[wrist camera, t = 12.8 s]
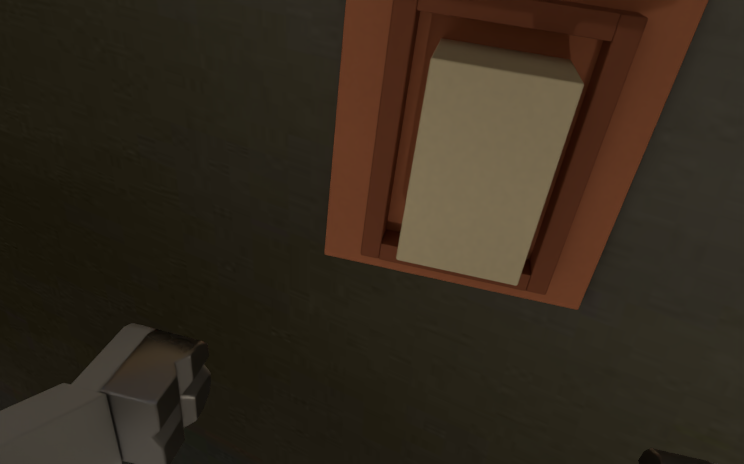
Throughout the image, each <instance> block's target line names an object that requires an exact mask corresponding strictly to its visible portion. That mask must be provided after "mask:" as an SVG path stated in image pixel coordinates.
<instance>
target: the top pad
mask: <svg viewBox="0 0 744 464" xmlns="http://www.w3.org/2000/svg"><path fill="white" fill-rule="evenodd" d="M583 87H584V83H583V81H582V80H581V78H580V76H579V74H578V72H577V70H576V69H575V67H574V65H573V63H572V61H571V60H570V59H564V58H558V57H552V56H546V55H540V54H534V53H528V52H522V51H516V50H510V49H504V48H497V47H491V46H485V45H479V44H473V43H467V42H461V41H455V40H449V39H443V38H442V39H441V40H440V42H439V44H438V45H437V47H436V49H435V51H434V53H433V55H432V57H431V59H430V64H429V70H428V76H427V82H426V87H425V93H424V99H423V105H422V110H421V116H420V122H419V128H418V134H417V139H416V145H415V151H414V157H413V162H412V168H411V174H410V180H409V185H408V191H407V197H406V203H405V208H404V214H403V220H402V226H401V232H400V237H399V243H398V249H397V255H396V259H397V260H400V261H405V262H409V263H414V264H418V265H423V266H428V267H432V268H437V269H441V270H446V271H451V272H455V273H460V274H464V275H469V276H474V277H478V278H483V279H487V280H492V281H497V282H501V283H506V284H510V285H515V286H517V285H518V282H519V279H520V276H521V273H522V270H523V267H524V264H525V261H526V258H527V255H528V252H529V249H530V246H531V243H532V240H533V237H534V234H535V231H536V228H537V225H538V222H539V219H540V216H541V213H542V210H543V207H544V204H545V201H546V198H547V195H548V192H549V189H550V186H551V183H552V180H553V177H554V174H555V171H556V168H557V165H558V162H559V159H560V156H561V153H562V150H563V147H564V144H565V141H566V138H567V135H568V132H569V129H570V126H571V123H572V120H573V117H574V114H575V111H576V108H577V105H578V102H579V99H580V96H581V93H582V90H583Z"/></svg>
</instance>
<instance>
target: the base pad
mask: <svg viewBox="0 0 744 464" xmlns="http://www.w3.org/2000/svg"><path fill="white" fill-rule="evenodd" d="M707 3H708V0H346V7H345V19H344V30H343V42H342V54H341V66H340V77H339V89H338V101H337V112H336V124H335V136H334V148H333V159H332V171H331V183H330V195H329V206H328V218H327V230H326V241H325V255H330V256H334V257H339V258H343V259H348V260H352V261H357V262H362V263H366V264H371V265H375V266H380V267H384V268H389V269H393V270H398V271H403V272H407V273H412V274H416V275H421V276H425V277H430V278H434V279H439V280H444V281H448V282H453V283H457V284H462V285H466V286H471V287H475V288H480V289H485V290H489V291H494V292H498V293H503V294H507V295H512V296H516V297H521V298H526V299H530V300H535V301H539V302H544V303H548V304H553V305H557V306H562V307H567V308H571V309H576V310H578V309H579V306H580V304H581V301H582V299H583V297H584V294H585V292H586V290H587V287H588V285H589V283H590V280H591V278H592V275H593V273H594V271H595V268H596V266H597V264H598V261H599V259H600V256H601V254H602V252H603V249H604V247H605V245H606V242H607V240H608V237H609V235H610V233H611V230H612V228H613V226H614V223H615V221H616V218H617V216H618V214H619V211H620V209H621V207H622V204H623V202H624V200H625V197H626V195H627V192H628V190H629V188H630V185H631V183H632V181H633V178H634V176H635V173H636V171H637V169H638V166H639V164H640V162H641V159H642V157H643V154H644V152H645V150H646V147H647V145H648V143H649V140H650V138H651V135H652V133H653V131H654V128H655V126H656V124H657V121H658V119H659V117H660V114H661V112H662V109H663V107H664V105H665V102H666V100H667V98H668V95H669V93H670V90H671V88H672V86H673V83H674V81H675V79H676V76H677V74H678V71H679V69H680V67H681V64H682V62H683V60H684V57H685V55H686V52H687V50H688V48H689V45H690V43H691V41H692V38H693V36H694V34H695V31H696V29H697V26H698V24H699V22H700V19H701V17H702V15H703V12H704V10H705V7H706V5H707ZM442 38H443V39H449V40H455V41H461V42H467V43H473V44H479V45H485V46H491V47H497V48H504V49H510V50H516V51H522V52H528V53H534V54H540V55H546V56H552V57H558V58H564V59H570V60H571V61H572V63H573V65H574V67H575V69H576V70H577V72H578V74H579V76H580V78H581V80H582V81H583V83H584V87H583V90H582V93H581V96H580V99H579V102H578V105H577V108H576V111H575V114H574V117H573V120H572V123H571V126H570V129H569V132H568V135H567V138H566V141H565V144H564V147H563V150H562V153H561V156H560V159H559V162H558V165H557V168H556V171H555V174H554V177H553V180H552V183H551V186H550V189H549V192H548V195H547V198H546V201H545V204H544V207H543V210H542V213H541V216H540V219H539V222H538V225H537V228H536V231H535V234H534V237H533V240H532V243H531V246H530V249H529V252H528V255H527V258H526V261H525V264H524V267H523V270H522V273H521V276H520V279H519V282H518V285H517V286H515V285H510V284H506V283H501V282H497V281H492V280H487V279H483V278H478V277H474V276H469V275H464V274H460V273H455V272H451V271H446V270H441V269H437V268H432V267H428V266H423V265H418V264H414V263H409V262H405V261H400V260H397V259H396V255H397V249H398V243H399V237H400V232H401V226H402V220H403V214H404V208H405V203H406V197H407V191H408V185H409V180H410V174H411V168H412V162H413V157H414V151H415V145H416V139H417V134H418V128H419V122H420V116H421V110H422V105H423V99H424V93H425V87H426V82H427V76H428V70H429V64H430V59H431V57H432V55H433V53H434V51H435V49H436V47H437V45H438V44H439V42H440V40H441V39H442Z"/></svg>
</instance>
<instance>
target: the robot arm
mask: <svg viewBox="0 0 744 464" xmlns="http://www.w3.org/2000/svg"><path fill="white" fill-rule="evenodd" d="M208 357H209V351H208V343H205V342H203V341H199V340H196V339H192V338H188V337H185V336H181V335H177V334H173V333H170V332H166V331H162V330H158V329H154V328H150V327H146V326H142V325H138V324H134V323H131V324H129V325H127V326H125V327H124V328H123V329H122V330H121V331H120V332H119V333H118V334H117V335H116V336H115V337H114V338H113V339H112V341H111V342H110V343H109V344H108V345H107V346H106V347H105V348H104V349H103V350H102V351H101V352H100V354H99V355H98V356H97V357H96V358H95V359H94V360H93V361H92V362H91V363H90V364H89V365H88V367H87V368H86V369H85V370H84V371H83V372H82V373H81V374H80V375H79V376H78V377H77V378H76V380H75V381H74V382H73V383H72V384H71V385H70V384H66V383H62V384H60V385H58V386H55V387H53V388H51V389H49V390H46V391H44V392H42V393H40V394H37V395H35V396H33V397H31V398H28V399H26V400H24V401H22V402H19V403H17V404H15V405H13V406H10V407H8V408H6V409H4V410H1V411H0V464H122V461H126V462H130V463H134V464H171V462H172V460H173V459H174V457H175V456H176V454H177V452H178V451H179V449H180V447H181V446H182V444H183V442H184V441H185V437H184V429H183V428H184V427H186V426H188V425H190V424H191V423H193V422H195V421H197V419H198V417H199V415H200V414H201V412H202V410H203V409H204V406H205V403H206V401H207V398H208V395H209V392H210V385H211V374H210V371H209V370H208V369H207V368H206V366H205V365H204V363H205V362H206V360H207V359H208ZM638 461H639V464H717V463H710V462H709V461H706V460H701V459H697V458H693V457H688V456H684V455H679V454H675V453H671V452H666V451H662V450H657V449H653V448H650V449H648V450H646V451H644V452H643V454H642V455H641V457H640V458H639V460H638Z"/></svg>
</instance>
